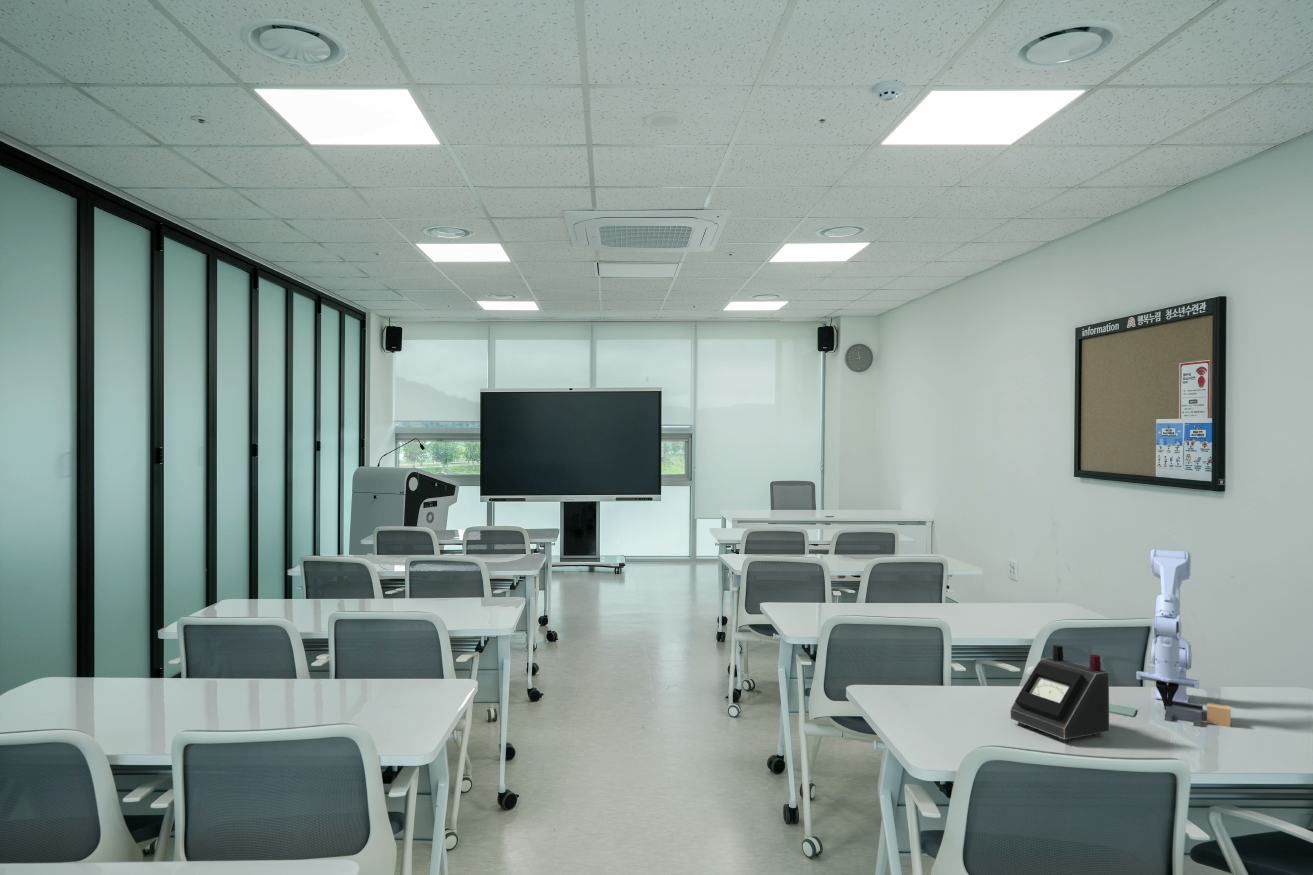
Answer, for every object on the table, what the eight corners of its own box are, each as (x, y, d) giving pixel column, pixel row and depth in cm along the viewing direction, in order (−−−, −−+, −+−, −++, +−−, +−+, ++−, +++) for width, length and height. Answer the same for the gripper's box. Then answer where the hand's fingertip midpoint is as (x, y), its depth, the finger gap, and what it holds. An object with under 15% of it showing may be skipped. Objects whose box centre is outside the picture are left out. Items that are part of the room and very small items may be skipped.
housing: (1168, 707, 217) (1168, 696, 217) (1203, 712, 212) (1203, 702, 212) (1164, 719, 205) (1164, 708, 206) (1200, 726, 201) (1200, 715, 201)
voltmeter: (1009, 724, 200) (1009, 647, 201) (1053, 717, 206) (1053, 643, 207) (1063, 745, 185) (1063, 662, 186) (1109, 736, 192) (1108, 657, 192)
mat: (1104, 703, 219) (1104, 702, 219) (1136, 709, 214) (1136, 708, 214) (1099, 710, 213) (1099, 709, 213) (1133, 716, 208) (1133, 715, 208)
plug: (1172, 712, 212) (1172, 696, 212) (1230, 722, 204) (1230, 705, 204) (1171, 715, 209) (1171, 699, 209) (1230, 726, 201) (1230, 709, 201)
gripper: (1135, 658, 213) (1135, 707, 213) (1198, 667, 204) (1198, 718, 204) (1137, 654, 219) (1138, 701, 218) (1199, 662, 210) (1200, 712, 209)
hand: (1167, 709), depth 211 cm, fingers closed
